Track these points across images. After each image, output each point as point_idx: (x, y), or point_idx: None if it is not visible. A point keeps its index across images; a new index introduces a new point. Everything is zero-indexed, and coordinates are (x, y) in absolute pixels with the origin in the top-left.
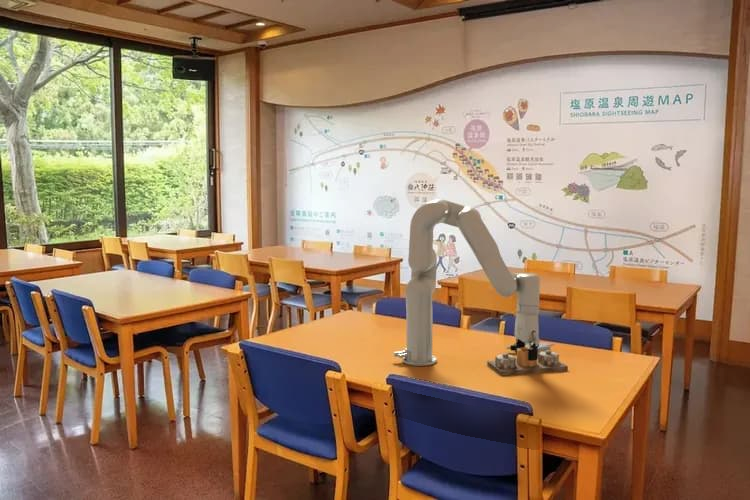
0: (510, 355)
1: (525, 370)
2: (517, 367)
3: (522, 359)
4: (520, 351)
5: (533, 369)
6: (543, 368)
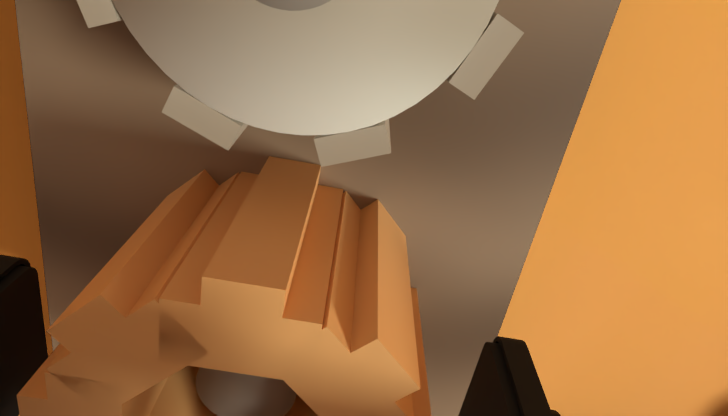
0: (356, 112)
1: (39, 116)
2: (144, 63)
3: (159, 221)
4: (167, 296)
5: (48, 230)
6: (56, 345)
